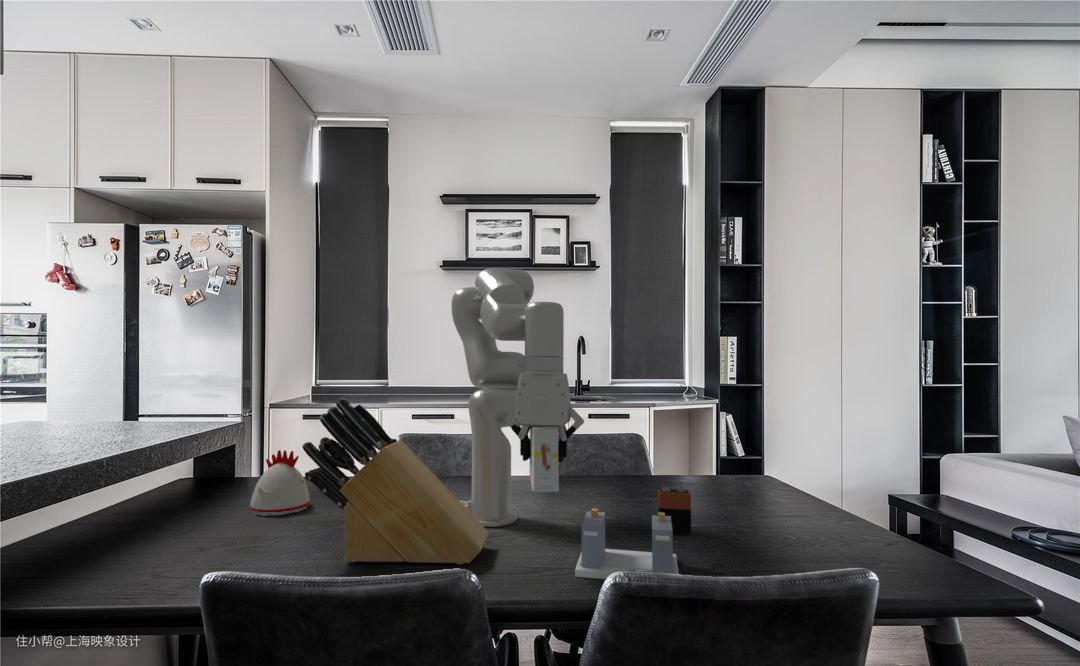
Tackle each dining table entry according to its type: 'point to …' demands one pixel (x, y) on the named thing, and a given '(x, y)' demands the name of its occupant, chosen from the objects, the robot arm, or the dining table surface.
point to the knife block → (389, 495)
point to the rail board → (607, 561)
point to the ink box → (544, 459)
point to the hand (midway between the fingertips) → (543, 459)
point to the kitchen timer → (280, 486)
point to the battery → (676, 508)
